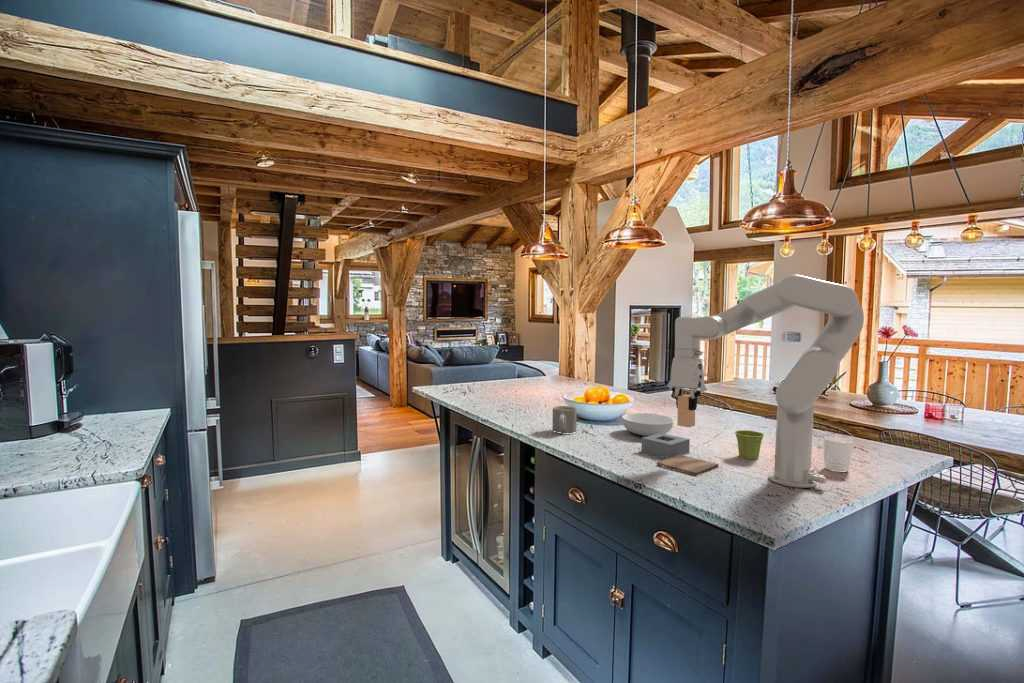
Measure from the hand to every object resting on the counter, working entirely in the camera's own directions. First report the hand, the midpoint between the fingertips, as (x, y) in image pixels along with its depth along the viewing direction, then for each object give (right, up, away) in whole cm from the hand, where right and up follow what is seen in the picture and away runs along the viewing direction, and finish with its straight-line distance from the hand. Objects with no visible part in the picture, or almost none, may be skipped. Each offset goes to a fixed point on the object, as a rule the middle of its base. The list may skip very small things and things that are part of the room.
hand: (686, 408), depth 168 cm
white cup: (+48, -20, -4) cm, 52 cm away
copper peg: (0, -6, 0) cm, 6 cm away
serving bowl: (-2, -16, +42) cm, 45 cm away
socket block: (-2, -18, +15) cm, 23 cm away
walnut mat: (0, -19, -1) cm, 19 cm away
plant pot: (+25, -19, +9) cm, 33 cm away
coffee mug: (-37, -16, +43) cm, 59 cm away
